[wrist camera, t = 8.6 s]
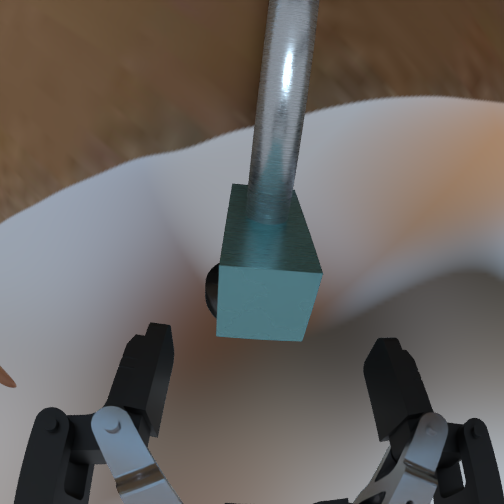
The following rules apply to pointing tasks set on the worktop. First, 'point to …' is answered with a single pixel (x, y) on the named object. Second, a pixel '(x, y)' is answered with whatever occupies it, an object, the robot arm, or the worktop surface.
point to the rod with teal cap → (271, 198)
